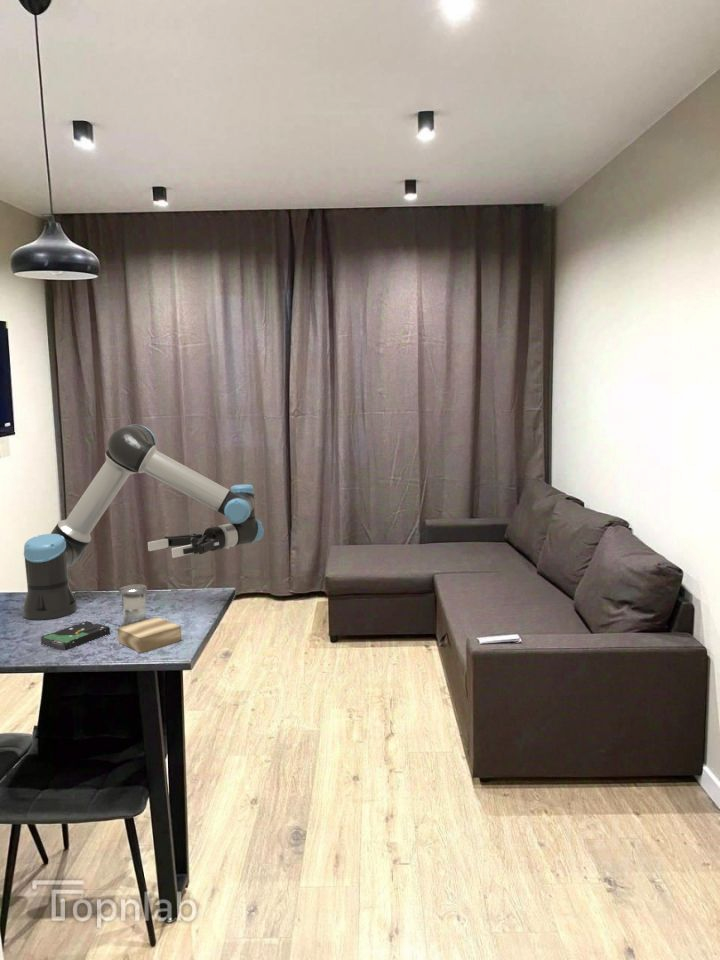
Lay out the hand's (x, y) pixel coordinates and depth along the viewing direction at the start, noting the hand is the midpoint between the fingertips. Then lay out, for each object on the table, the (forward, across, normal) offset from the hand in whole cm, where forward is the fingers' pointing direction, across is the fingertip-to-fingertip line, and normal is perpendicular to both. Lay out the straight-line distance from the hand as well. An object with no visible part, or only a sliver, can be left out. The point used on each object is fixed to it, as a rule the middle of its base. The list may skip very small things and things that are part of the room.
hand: (160, 549), depth 213 cm
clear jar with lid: (+10, 0, -20) cm, 22 cm away
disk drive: (+27, 0, -21) cm, 34 cm away
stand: (+14, -17, -20) cm, 30 cm away
